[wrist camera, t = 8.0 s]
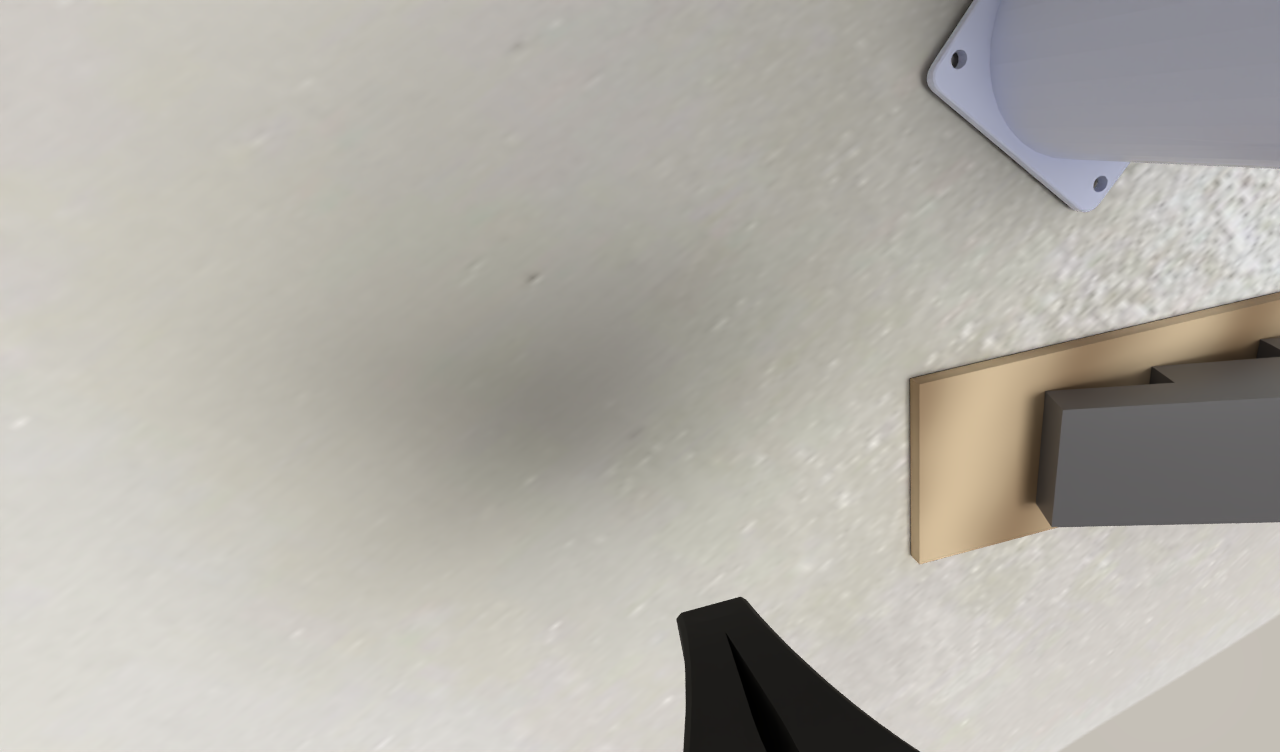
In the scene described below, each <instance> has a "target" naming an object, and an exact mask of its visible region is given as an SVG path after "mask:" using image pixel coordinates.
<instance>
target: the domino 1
mask: <svg viewBox="0 0 1280 752" xmlns="http://www.w3.org/2000/svg"><path fill="white" fill-rule="evenodd" d="M1270 376H1280V357H1272V358H1258V359H1244V360H1231V361H1217V362H1204V363H1190V364H1177V365H1163V366H1152V368H1151V375H1150V382H1149V384H1162V383H1177V382H1193V381H1208V380H1224V379H1239V378H1255V377H1270Z"/></svg>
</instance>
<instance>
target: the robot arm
mask: <svg viewBox="0 0 1280 752" xmlns="http://www.w3.org/2000/svg"><path fill="white" fill-rule="evenodd" d="M955 52H956V53H957V54H958V56H959V62H958V64H957V66H956V67H955V68H953V66H952V64H951V58H952V55H953V53H955ZM927 83H928V86H929V88H930V89H931V90H932V91H933V92H934V93H935V94H936V95H937V96H939V97H940V98H941V99H942V100H943V101H944V102H946V103H947V104H948V105H949V106H950V107H952V108H953V109H954V110H955V111H956V112H958V113H959V114H960V115H961V116H962V117H964V118H965V119H966V120H967V121H968V122H969V123H971V124H972V125H973V126H974V127H975V128H977V129H978V130H979V131H980V132H981V133H983V134H984V135H985V136H986V137H987V138H989V139H990V140H991V141H992V142H993V143H994V144H996V145H997V146H998V147H999V148H1000V149H1002V150H1003V151H1004V152H1005V153H1006V154H1008V155H1009V156H1010V157H1011V158H1012V159H1014V160H1015V161H1016V162H1017V163H1018V164H1019V165H1021V166H1022V167H1023V168H1024V169H1025V170H1027V171H1028V172H1029V173H1030V174H1031V175H1033V176H1034V177H1035V178H1036V179H1037V180H1039V181H1040V182H1041V183H1042V184H1043V185H1044V186H1046V187H1047V188H1048V189H1049V190H1050V191H1052V192H1053V193H1054V194H1055V195H1056V196H1058V197H1059V198H1060V199H1061V200H1062V201H1063V202H1065V203H1066V204H1067V205H1068V206H1069V207H1071V208H1072V209H1073V210H1076V211H1080V212H1089V211H1091V210H1093V209H1095V208H1096V207H1097V206H1098V205H1099V203H1100V202H1101V201H1102V199H1103V198H1104V197H1105V195H1106V194H1107V193H1108V191H1109V190H1110V189H1111V187H1112V186H1113V185H1114V183H1115V182H1116V181H1117V179H1118V178H1119V177H1120V175H1121V174H1122V173H1123V171H1124V170H1125V169H1126V167H1127V166H1128V165H1129V163H1130V162H1141V163H1163V164H1185V165H1207V166H1228V167H1250V168H1272V169H1280V0H973V2H972V3H971V5H970V7H969V8H968V10H967V11H966V13H965V14H964V16H963V17H962V19H961V20H960V22H959V23H958V25H957V26H956V28H955V29H954V31H953V33H952V34H951V36H950V37H949V39H948V40H947V42H946V43H945V45H944V46H943V48H942V49H941V51H940V52H939V54H938V55H937V57H936V59H935V60H934V62H933V63H932V65H931V66H930V68H929V71H928V73H927ZM1096 179H1098V183H1097V185H1096V187H1095V188H1093V186H1094V182H1095V180H1096ZM676 620H677V625H678V630H679V635H680V640H681V645H682V650H683V656H684V661H685V681H686V715H685V733H684V750H683V752H920V751H918V750H917V749H915V748H914V747H912V746H911V745H909V744H908V743H906V742H905V741H903V740H902V739H900V738H899V737H898V736H896V735H895V734H893V733H892V732H891V731H889V730H888V729H886V728H885V727H884V726H882V725H881V724H879V723H878V722H877V721H875V720H874V719H873V718H871V717H870V716H869V715H868V714H866V713H865V712H864V711H862V710H861V709H860V708H859V707H857V706H856V705H855V704H853V703H852V702H851V701H850V700H849V699H847V698H846V697H845V696H844V695H843V694H841V693H840V692H839V691H838V690H837V689H835V688H834V687H833V686H832V685H831V684H829V683H828V682H827V681H826V680H825V679H824V678H823V677H821V676H820V675H819V674H818V673H817V672H816V671H815V670H814V669H813V668H812V667H811V666H809V665H808V664H807V663H806V662H805V661H804V660H803V659H802V658H801V657H800V656H799V655H798V654H796V653H795V652H794V651H793V650H792V649H791V648H790V647H789V646H788V645H787V644H786V643H785V642H784V641H783V640H782V639H781V638H780V637H779V636H778V635H777V634H776V633H775V632H774V631H773V630H772V628H771V627H770V626H769V625H768V624H767V623H766V622H765V621H764V620H763V619H762V618H761V617H760V615H759V614H758V613H757V612H756V611H755V610H754V609H753V607H752V606H751V605H750V604H749V603H748V601H747V600H746V599H744V598H742V597H738V598H734V599H730V600H727V601H723V602H719V603H716V604H712V605H708V606H705V607H701V608H697V609H694V610H690V611H686V612H683V613H681V614H680V615H679V616H678V618H677V619H676Z"/></svg>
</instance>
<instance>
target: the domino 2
mask: <svg viewBox="0 0 1280 752" xmlns="http://www.w3.org/2000/svg"><path fill="white" fill-rule="evenodd" d="M1036 504H1037V506H1038V507H1039V509H1040V510H1041V512H1042V514H1043V515H1044V517H1045V518H1046V520H1047V521H1048V523H1049V524H1050V526H1051V527H1085V526H1130V525H1174V524H1218V523H1263V522H1280V376H1270V377H1255V378H1239V379H1224V380H1208V381H1193V382H1177V383H1162V384H1146V385H1131V386H1115V387H1100V388H1084V389H1069V390H1053V391H1045V399H1044V411H1043V423H1042V435H1041V446H1040V458H1039V470H1038V482H1037V494H1036Z"/></svg>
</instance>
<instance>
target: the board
mask: <svg viewBox="0 0 1280 752" xmlns="http://www.w3.org/2000/svg"><path fill="white" fill-rule="evenodd" d="M1269 338H1280V292H1278V293H1274V294H1270V295H1265V296H1261V297H1257V298H1253V299H1248V300H1244V301H1240V302H1236V303H1231V304H1227V305H1223V306H1218V307H1214V308H1210V309H1206V310H1201V311H1197V312H1193V313H1189V314H1184V315H1180V316H1176V317H1171V318H1167V319H1163V320H1159V321H1154V322H1150V323H1146V324H1141V325H1137V326H1133V327H1129V328H1124V329H1120V330H1116V331H1112V332H1107V333H1103V334H1099V335H1094V336H1090V337H1086V338H1082V339H1077V340H1073V341H1069V342H1065V343H1060V344H1056V345H1052V346H1047V347H1043V348H1039V349H1035V350H1030V351H1026V352H1022V353H1017V354H1013V355H1009V356H1005V357H1000V358H996V359H992V360H988V361H983V362H979V363H975V364H970V365H966V366H962V367H958V368H953V369H949V370H945V371H941V372H936V373H932V374H928V375H923V376H919V377H915V378H911V379H910V453H911V556H912V557H913V558H914V559H915V560H916V561H917V562H918V563H919V564H923V563H927V562H930V561H934V560H938V559H942V558H945V557H949V556H953V555H956V554H960V553H964V552H968V551H971V550H975V549H979V548H983V547H986V546H990V545H994V544H997V543H1001V542H1005V541H1009V540H1012V539H1016V538H1020V537H1024V536H1027V535H1031V534H1035V533H1039V532H1042V531H1046V530H1050V529H1053V528H1057V527H1051V526H1050V524H1049V523H1048V521H1047V520H1046V518H1045V517H1044V515H1043V514H1042V512H1041V510H1040V509H1039V507H1038V506H1037V504H1036V494H1037V482H1038V470H1039V458H1040V446H1041V435H1042V423H1043V411H1044V399H1045V391H1053V390H1069V389H1084V388H1100V387H1115V386H1131V385H1146V384H1149V382H1150V375H1151V368H1152V366H1163V365H1177V364H1190V363H1204V362H1217V361H1231V360H1244V359H1256V357H1257V352H1258V347H1259V342H1260V339H1269Z"/></svg>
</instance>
